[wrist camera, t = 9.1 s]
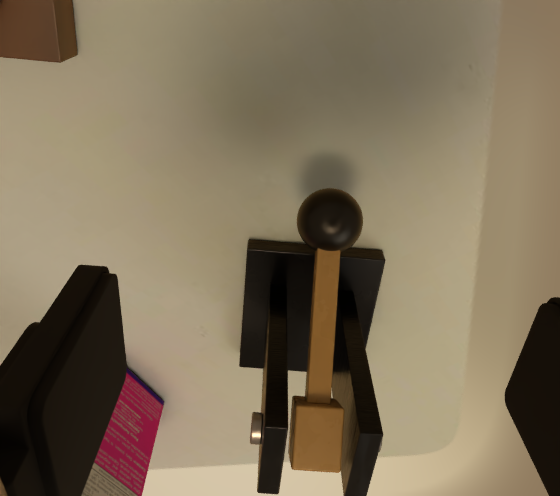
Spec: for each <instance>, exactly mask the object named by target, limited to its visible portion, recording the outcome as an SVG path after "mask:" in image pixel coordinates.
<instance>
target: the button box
mask: <svg viewBox="0 0 560 496" xmlns="http://www.w3.org/2000/svg"><path fill="white" fill-rule="evenodd" d="M76 55H77V45H76V35H75V25H74V14H73V4H72V0H0V57H6V58H17V59H27V60H38V61H48V62H59V63H61V62H63V61H65V60H67V59H69V58H71V57H74V56H76Z"/></svg>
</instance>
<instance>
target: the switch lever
mask: <svg viewBox="0 0 560 496" xmlns="http://www.w3.org/2000/svg"><path fill="white" fill-rule="evenodd" d="M362 226H363V216H362V211H361V209H360V206H359V205H358V203H357V202H356V200H355V199H354V198H353V197H352V196H351V195H349V194H348V193H346V192H344V191H342V190H339V189H334V188H327V189H321V190H318V191H316V192H314V193H312V194H311V195H309V196H308V197H307V198H306V199H305V200H304V202H303V203H302V205H301V206H300V209H299V211H298V216H297V227H298V231H299V234H300V236H301V238H302V240H303V241H304V242H305V243H306V244H307V245H308V246H309V247H310V248H311V249H313V250H315V263H314V277H313V291H312V306H311V320H310V334H309V348H308V362H307V376H306V390H305V396H293V397H292V409H291V422H290V436H289V450H288V454H289V458H290V463H291V467H292V469H294V470H305V471H321V472H336V473H339V472H340V471H341V458H342V442H343V426H344V408H343V407H342V406H341V405H340V403H339V402H338V401H337V400H336V399H333V398H331V387H332V372H333V357H334V342H335V326H336V311H337V296H338V281H339V266H340V252H342V251H345V250H346V249H348V248H349V247H351V246H352V245H353V244H354V243H355V242H356V240H357V239H358V237H359V236H360V233H361V230H362Z"/></svg>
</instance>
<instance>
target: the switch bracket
mask: <svg viewBox="0 0 560 496" xmlns="http://www.w3.org/2000/svg"><path fill="white" fill-rule="evenodd" d="M314 263H315V250H313V249H311V248H310V247H309V246H308V245H307V244H300V243H288V242H276V241H264V240H252V239H249V240H248V248H247V261H246V276H245V291H244V305H243V320H242V335H241V349H240V364H239V366H240V367H249V368H263V385H262V405H261V413H258V412H253V413H252V423H251V435H250V444H258V445H259V464H258V484H257V492H258V493H266V494H278V493H279V489H280V482H281V474H282V467H283V460H284V453H285V446H286V439H287V432H288V370H290V371H304V372H307V362H308V348H309V334H310V320H311V306H312V291H313V277H314ZM384 264H385V258H384V255H383V252H382V250H372V249H360V248H348V249H346V250H345V251H342V252H340V266H339V281H338V296H337V311H336V326H335V342H334V357H333V372H332V394H333V399H336V400H337V401H338V402H339V403H340V405H341V406H342V407H343V408H344V426H343V442H342V458H341V475H342V483H343V493H344V496H366V495H367V492H368V488H369V484H370V480H371V477H372V473H373V470H374V466H375V463H376V459H377V456H378V452H380V450H381V446H382V437H383V431H382V426H381V422H380V417H379V412H378V407H377V402H376V398H375V393H374V388H373V383H372V378H371V374H370V369H369V364H368V359H367V354H366V350H365V349H366V344H367V340H368V335H369V331H370V326H371V322H372V318H373V313H374V309H375V304H376V300H377V295H378V291H379V286H380V282H381V277H382V273H383V269H384Z"/></svg>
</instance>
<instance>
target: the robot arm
mask: <svg viewBox="0 0 560 496" xmlns="http://www.w3.org/2000/svg"><path fill="white" fill-rule="evenodd" d="M126 372H127V364H126V354H125V344H124V335H123V325H122V316H121V306H120V297H119V287H118V279H117V275H116V274H111V273H109V270H108V268H107V267H105V266H91V265H79V266H78V267H77V268H76V269H75V271H74V272H73V274H72V275H71V277H70V278H69V280H68V281H67V283H66V284H65V286H64V287H63V289H62V290H61V292H60V293H59V295H58V296H57V298H56V299H55V301H54V302H53V304H52V305H51V307H50V308H49V310H48V311H47V313H46V314H45V316H44V317H43V319H42V320H41V322H40V323H39V322H34V323H32V324H30V325H29V326H28V327H27V328H26V330H25V331H24V332H23V334H22V335H21V337H20V338H19V340H18V341H17V343H16V344H15V345H14V347H13V348H12V350H11V351H10V353H9V354H8V355H7V357H6V358H5V360H4V361H3V363H2V364H1V366H0V496H81V495H82V493H83V490H84V488H85V485H86V482H87V480H88V477H89V474H90V472H91V469H92V467H93V464H94V461H95V459H96V456H97V453H98V451H99V448H100V446H101V443H102V440H103V438H104V435H105V432H106V430H107V427H108V424H109V422H110V419H111V417H112V414H113V411H114V409H115V406H116V403H117V401H118V398H119V396H120V393H121V390H122V388H123V385H124V382H125V378H126ZM505 403H506V406H507V409H508V411H509V413H510V415H511V417H512V419H513V421H514V424H515V425H516V428H517V430H518V432H519V434H520V436H521V438H522V440H523V442H524V444H525V446H526V448H527V451H528V453H529V455H530V457H531V459H532V461H533V463H534V465H535V467H536V469H537V472H538V473H539V476H540V478H541V480H542V482H543V484H544V486H545V488H546V490H547V492H548V494H549V496H560V298H556V297H554V298H551V299H550V300H549V301H548V302H547V303H544V304H542V305H541V306H540V307H539V309H538V312H537V314H536V317H535V319H534V322H533V324H532V326H531V329H530V331H529V334H528V337H527V339H526V341H525V344H524V346H523V349H522V351H521V353H520V356H519V358H518V361H517V363H516V366H515V368H514V371H513V373H512V376H511V378H510V381H509V383H508V386H507V388H506V391H505Z"/></svg>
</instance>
